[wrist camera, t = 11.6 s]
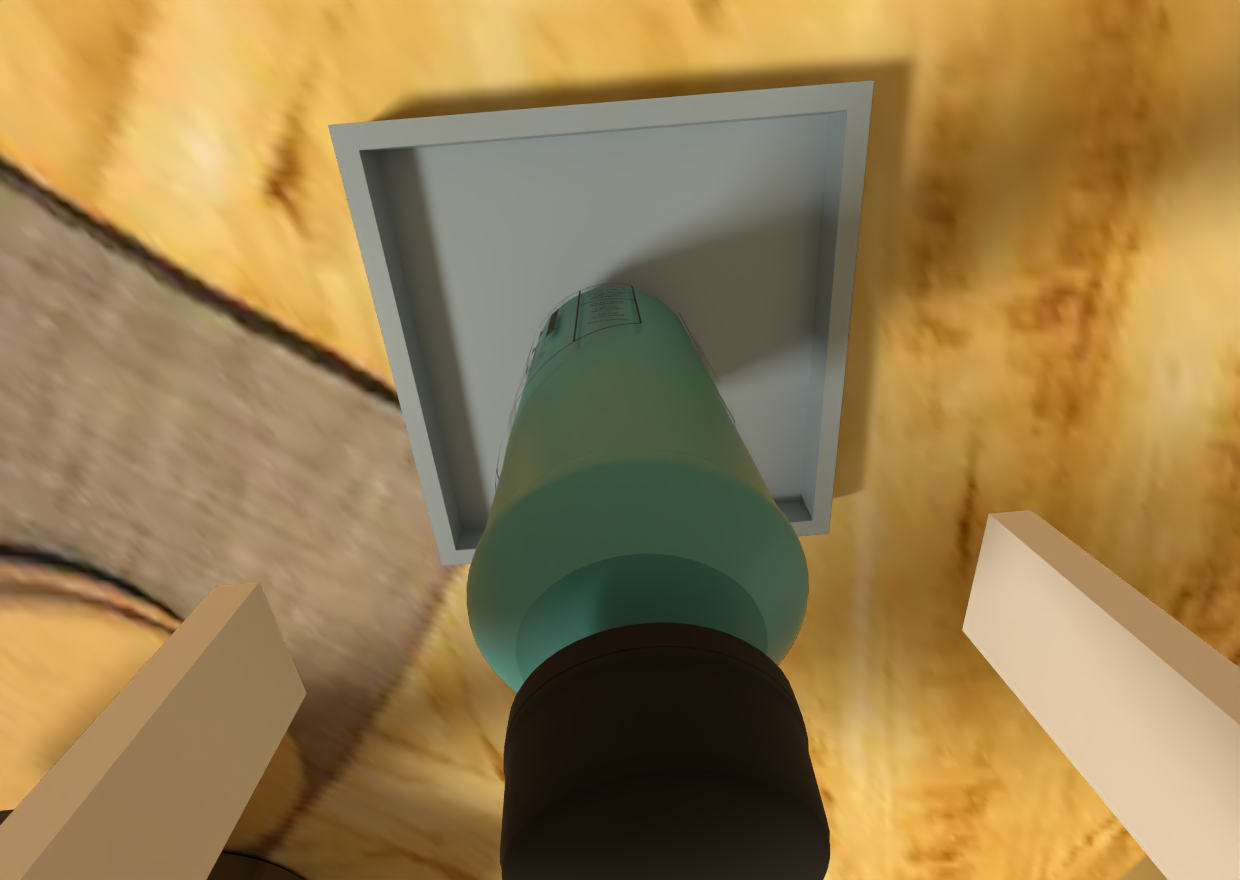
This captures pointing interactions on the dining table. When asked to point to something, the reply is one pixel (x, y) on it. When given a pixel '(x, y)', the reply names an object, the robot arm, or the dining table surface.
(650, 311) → the beverage bottle
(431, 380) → the tray
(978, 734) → the dining table surface
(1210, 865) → the robot arm
